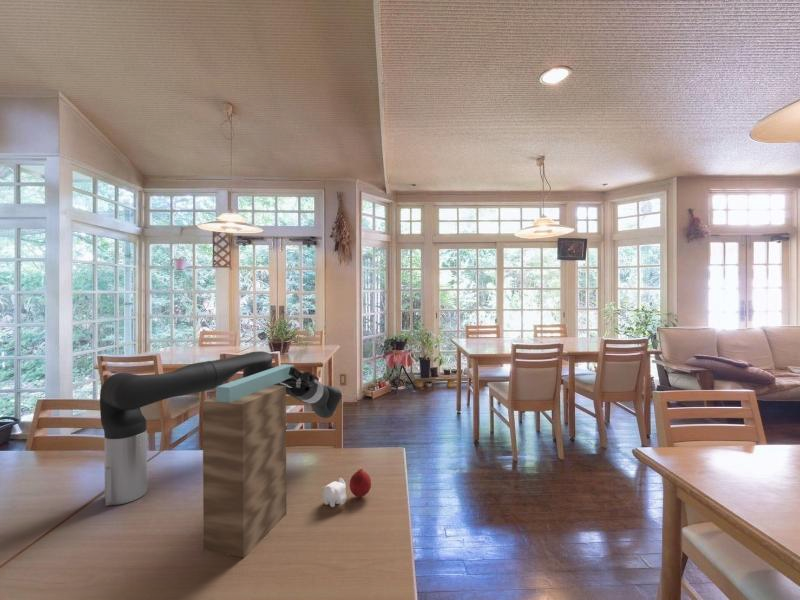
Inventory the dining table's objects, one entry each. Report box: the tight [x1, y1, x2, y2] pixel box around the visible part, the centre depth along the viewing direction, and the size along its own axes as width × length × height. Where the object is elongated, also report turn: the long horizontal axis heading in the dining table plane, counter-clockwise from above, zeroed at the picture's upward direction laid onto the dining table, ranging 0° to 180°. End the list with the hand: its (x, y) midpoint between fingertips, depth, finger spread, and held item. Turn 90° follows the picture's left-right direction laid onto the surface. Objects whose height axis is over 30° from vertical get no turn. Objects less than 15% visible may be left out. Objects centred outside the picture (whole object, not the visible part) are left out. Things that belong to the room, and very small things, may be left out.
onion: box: [349, 467, 372, 499], centre depth 98 cm, size 6×6×8 cm
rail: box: [216, 363, 295, 403], centre depth 90 cm, size 26×3×3 cm, turn 166°
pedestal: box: [202, 385, 287, 559], centre depth 85 cm, size 16×10×32 cm, turn 165°
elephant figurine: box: [321, 477, 348, 508], centre depth 95 cm, size 7×8×6 cm
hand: (279, 369), depth 97 cm, fingers open, 6 cm apart
